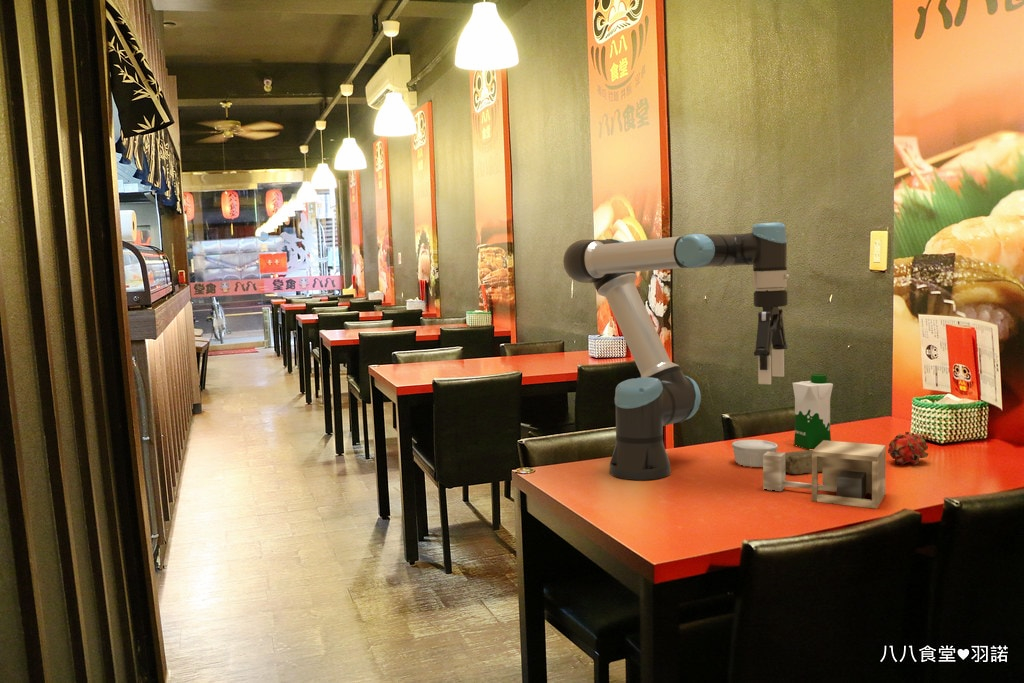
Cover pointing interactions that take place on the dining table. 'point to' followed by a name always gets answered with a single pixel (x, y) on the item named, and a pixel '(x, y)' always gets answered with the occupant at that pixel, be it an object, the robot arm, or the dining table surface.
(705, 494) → the dining table surface
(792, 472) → the stone block
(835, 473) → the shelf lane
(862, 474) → the tethered block
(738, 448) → the ramekin
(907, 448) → the dragon fruit
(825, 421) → the milk carton
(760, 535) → the dining table surface
